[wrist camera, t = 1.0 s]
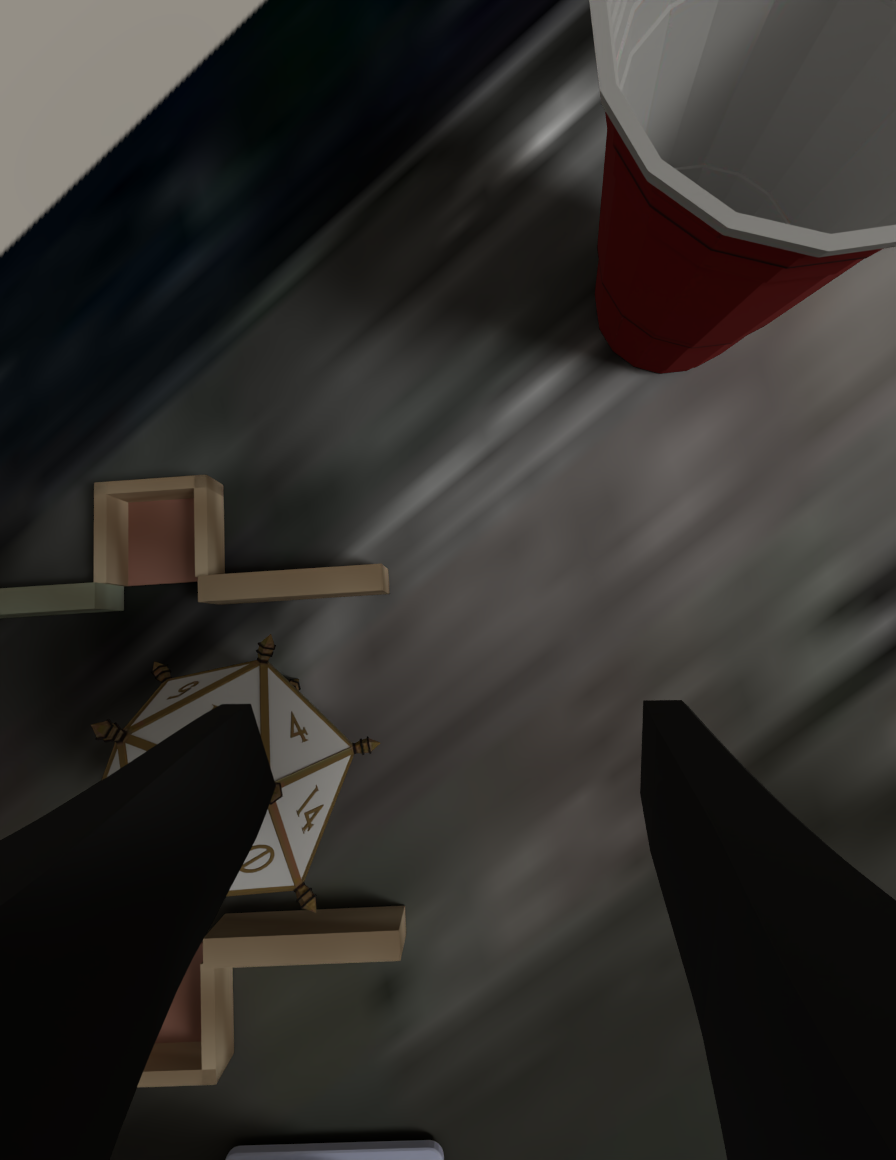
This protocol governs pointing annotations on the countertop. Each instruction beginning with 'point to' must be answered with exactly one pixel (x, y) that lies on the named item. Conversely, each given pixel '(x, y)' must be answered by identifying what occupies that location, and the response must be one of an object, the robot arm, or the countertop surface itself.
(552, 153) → the countertop surface
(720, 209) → the plastic cup
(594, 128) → the countertop surface
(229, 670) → the game die
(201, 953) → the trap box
